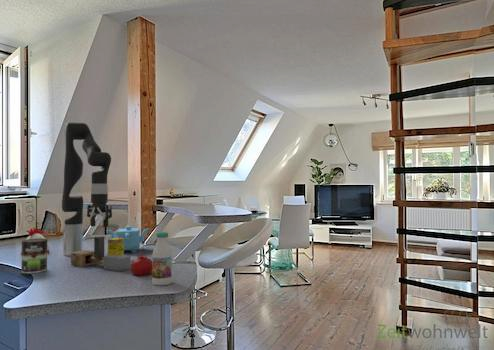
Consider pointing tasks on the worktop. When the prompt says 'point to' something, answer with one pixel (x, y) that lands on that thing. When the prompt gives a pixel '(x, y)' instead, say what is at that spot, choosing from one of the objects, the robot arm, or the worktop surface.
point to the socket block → (81, 258)
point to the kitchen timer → (36, 236)
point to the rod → (98, 250)
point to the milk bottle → (162, 261)
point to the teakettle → (130, 237)
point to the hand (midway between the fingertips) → (99, 226)
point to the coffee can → (34, 256)
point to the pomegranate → (141, 265)
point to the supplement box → (116, 246)
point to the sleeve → (117, 262)
